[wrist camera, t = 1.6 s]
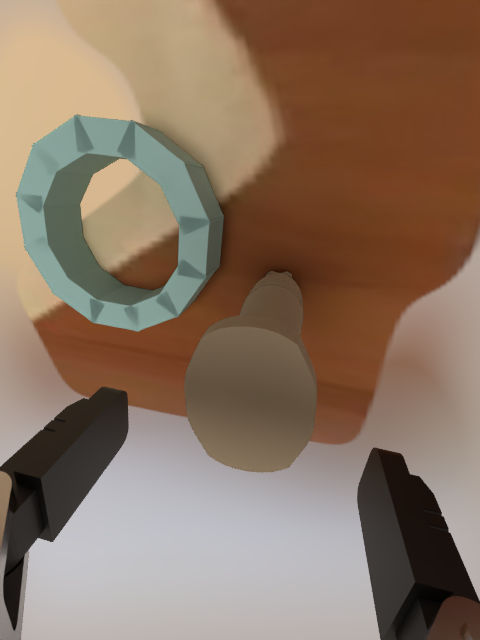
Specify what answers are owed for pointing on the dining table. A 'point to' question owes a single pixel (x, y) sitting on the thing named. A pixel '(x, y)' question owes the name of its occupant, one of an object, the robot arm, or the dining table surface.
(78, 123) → the notched ring
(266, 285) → the handle
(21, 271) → the dining table surface
